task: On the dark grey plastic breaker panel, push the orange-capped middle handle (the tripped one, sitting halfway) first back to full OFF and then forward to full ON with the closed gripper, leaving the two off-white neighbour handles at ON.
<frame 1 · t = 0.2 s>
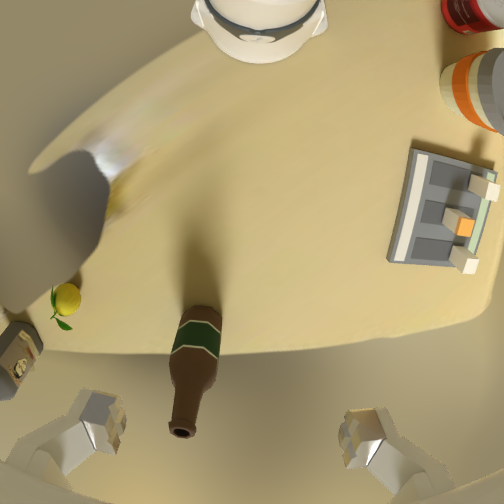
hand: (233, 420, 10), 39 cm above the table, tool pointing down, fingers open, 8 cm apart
breaker c: (463, 259, 46), point 5 cm above the table, slide at 4.0 cm
lemon: (76, 288, 54), on the table
breaker a: (484, 187, 40), point 5 cm above the table, slide at 4.0 cm
canned food: (457, 14, 32), on the table
panel: (444, 212, 47), on the table
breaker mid: (458, 221, 43), point 5 cm above the table, slide at 0.0 cm
liquor: (27, 335, 60), on the table
reusable coffee cup: (459, 89, 38), on the table
beer bottle: (202, 320, 57), on the table
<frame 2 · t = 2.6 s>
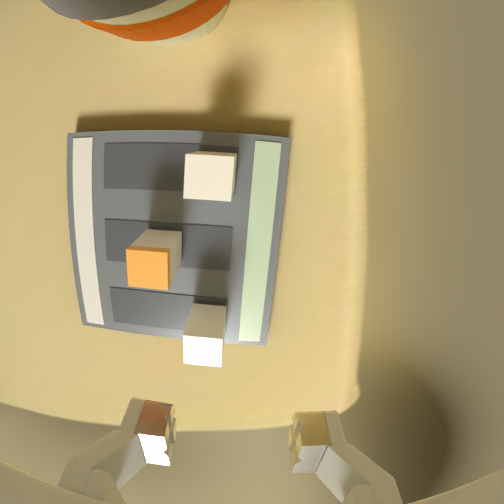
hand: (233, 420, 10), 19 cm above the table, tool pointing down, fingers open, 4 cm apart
breaker c: (206, 333, 26), point 4 cm above the table, slide at 4.0 cm
breaker a: (212, 173, 22), point 5 cm above the table, slide at 4.0 cm
panel: (169, 239, 28), on the table
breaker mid: (156, 257, 24), point 4 cm above the table, slide at 0.0 cm
reusable coffee cup: (177, 4, 21), on the table
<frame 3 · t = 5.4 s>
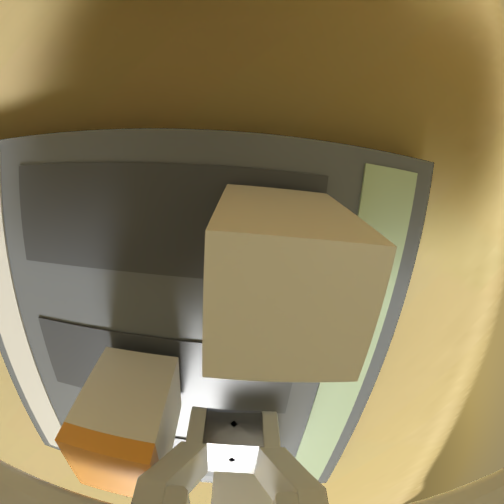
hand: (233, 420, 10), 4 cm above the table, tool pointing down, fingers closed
breaker a: (280, 263, 8), point 5 cm above the table, slide at 4.0 cm
panel: (165, 351, 14), on the table
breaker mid: (128, 422, 10), point 5 cm above the table, slide at -0.5 cm, touching gripper
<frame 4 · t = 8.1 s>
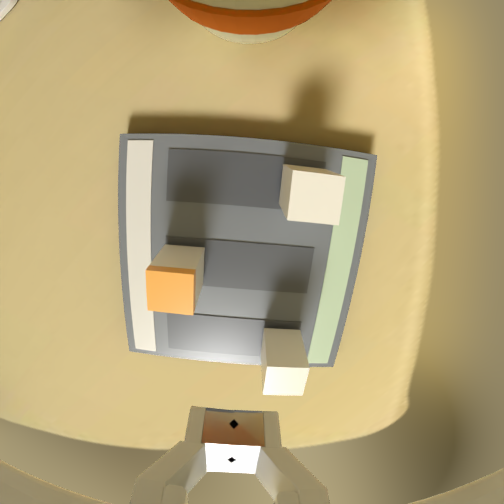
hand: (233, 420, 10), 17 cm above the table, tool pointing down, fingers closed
breaker c: (282, 360, 24), point 5 cm above the table, slide at 4.0 cm
breaker a: (308, 191, 20), point 5 cm above the table, slide at 4.0 cm
panel: (238, 258, 26), on the table
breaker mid: (177, 276, 21), point 5 cm above the table, slide at -4.0 cm
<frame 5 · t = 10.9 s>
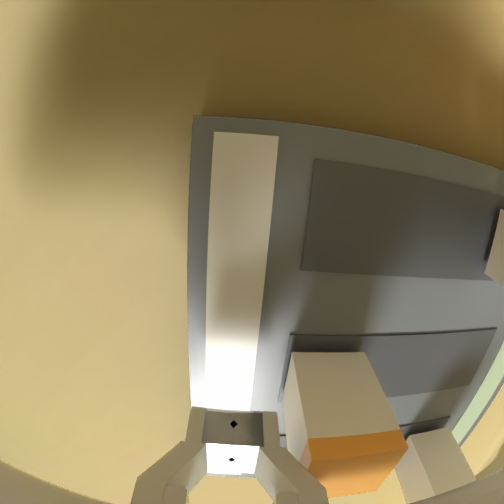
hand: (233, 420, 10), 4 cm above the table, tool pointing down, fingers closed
breaker c: (433, 474, 12), point 5 cm above the table, slide at 4.0 cm
panel: (390, 348, 14), on the table
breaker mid: (334, 422, 10), point 5 cm above the table, slide at -4.0 cm, touching gripper
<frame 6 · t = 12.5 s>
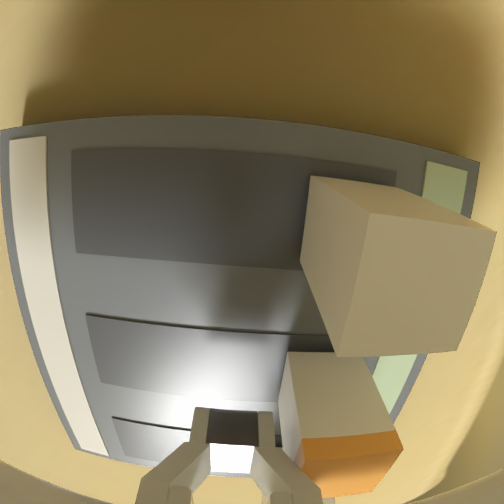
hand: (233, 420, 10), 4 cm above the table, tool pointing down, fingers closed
breaker c: (295, 497, 12), point 4 cm above the table, slide at 4.0 cm
breaker a: (378, 249, 8), point 5 cm above the table, slide at 4.0 cm
panel: (221, 345, 14), on the table
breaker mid: (329, 423, 10), point 4 cm above the table, slide at 4.1 cm, touching gripper
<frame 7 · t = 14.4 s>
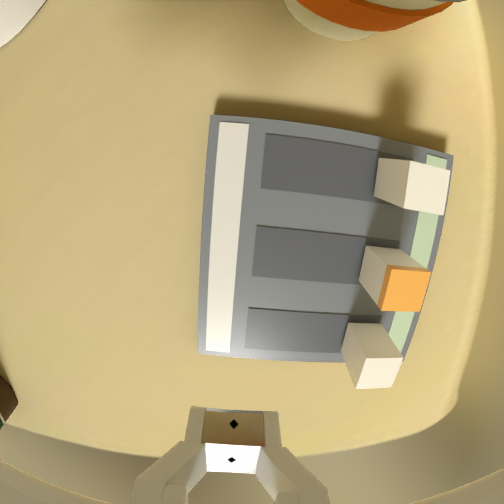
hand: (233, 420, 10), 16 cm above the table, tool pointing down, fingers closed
breaker c: (369, 354, 23), point 5 cm above the table, slide at 4.0 cm
breaker a: (409, 184, 19), point 5 cm above the table, slide at 4.0 cm
panel: (324, 252, 25), on the table
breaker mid: (392, 276, 21), point 5 cm above the table, slide at 4.0 cm
beer bottle: (0, 387, 32), on the table
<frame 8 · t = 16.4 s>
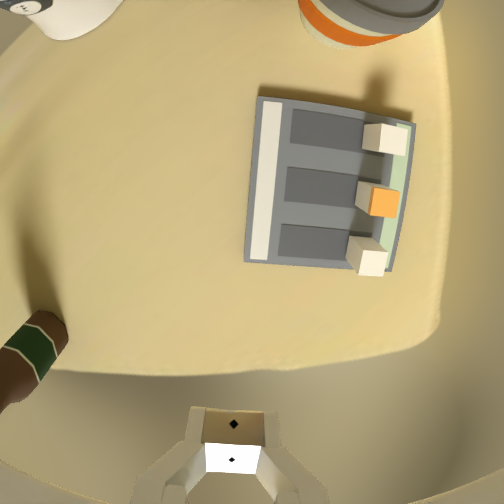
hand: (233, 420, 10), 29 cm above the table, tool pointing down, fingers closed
breaker c: (365, 255, 34), point 4 cm above the table, slide at 4.0 cm
breaker a: (383, 139, 30), point 4 cm above the table, slide at 4.0 cm
panel: (331, 187, 36), on the table
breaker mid: (376, 198, 32), point 4 cm above the table, slide at 4.0 cm
reusable coffee cup: (336, 17, 29), on the table
beer bottle: (51, 328, 43), on the table
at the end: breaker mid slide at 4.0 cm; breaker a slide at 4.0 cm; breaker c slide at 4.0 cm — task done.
